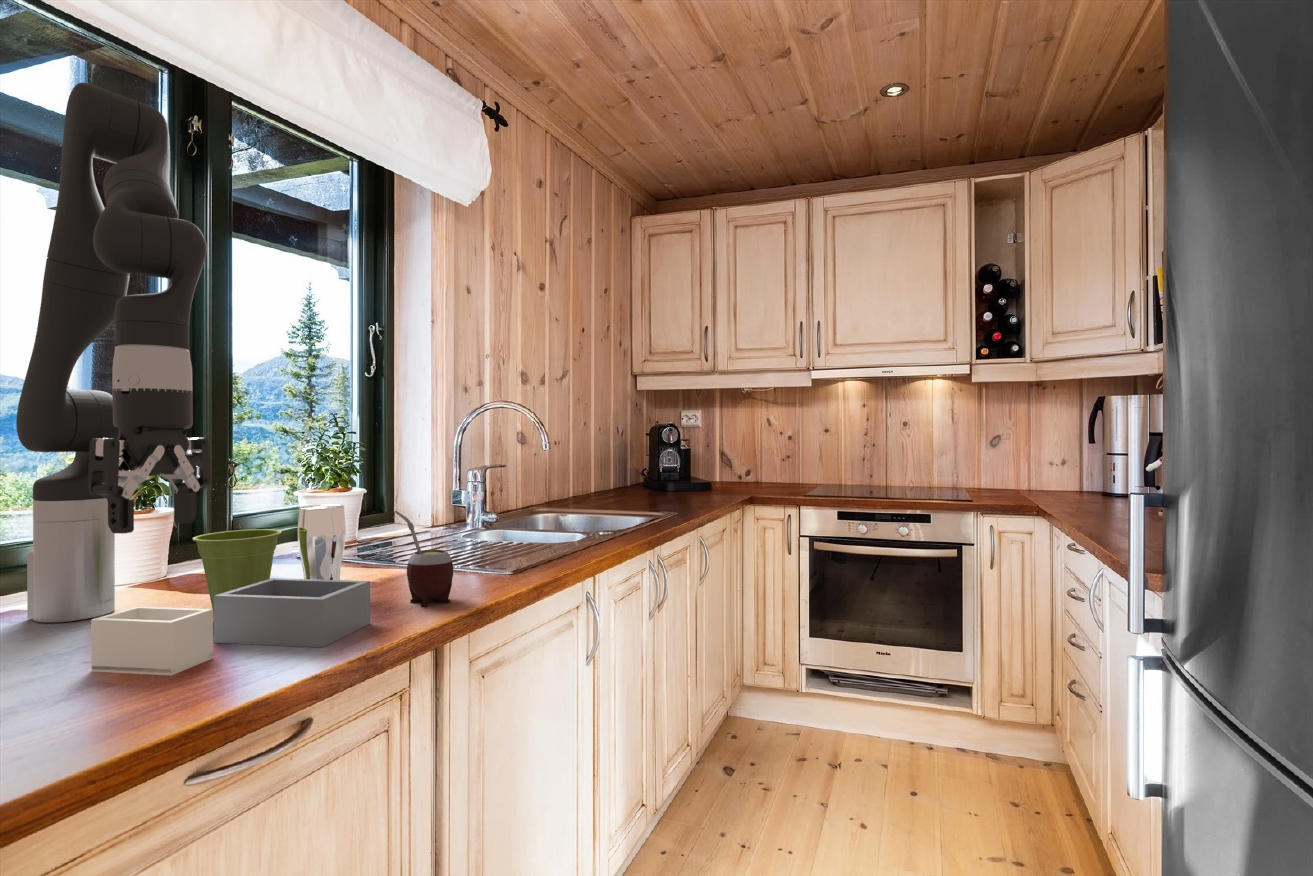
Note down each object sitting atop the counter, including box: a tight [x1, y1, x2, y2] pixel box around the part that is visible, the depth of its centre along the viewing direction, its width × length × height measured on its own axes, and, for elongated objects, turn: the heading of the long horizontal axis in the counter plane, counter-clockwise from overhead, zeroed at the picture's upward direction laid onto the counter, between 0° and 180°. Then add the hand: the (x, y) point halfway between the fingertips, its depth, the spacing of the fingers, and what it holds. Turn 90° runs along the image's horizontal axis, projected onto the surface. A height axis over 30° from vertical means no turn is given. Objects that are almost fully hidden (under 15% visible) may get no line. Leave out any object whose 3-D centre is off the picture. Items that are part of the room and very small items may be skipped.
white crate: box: [90, 606, 214, 676], centre depth 81 cm, size 6×10×6 cm, turn 82°
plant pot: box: [192, 528, 282, 611], centre depth 108 cm, size 12×12×11 cm
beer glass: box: [297, 504, 347, 580], centre depth 112 cm, size 7×7×15 cm
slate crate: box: [213, 577, 371, 648], centre depth 94 cm, size 11×15×6 cm
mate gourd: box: [394, 510, 454, 608], centre depth 110 cm, size 8×8×15 cm
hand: (154, 527), depth 81 cm, fingers open, 8 cm apart
